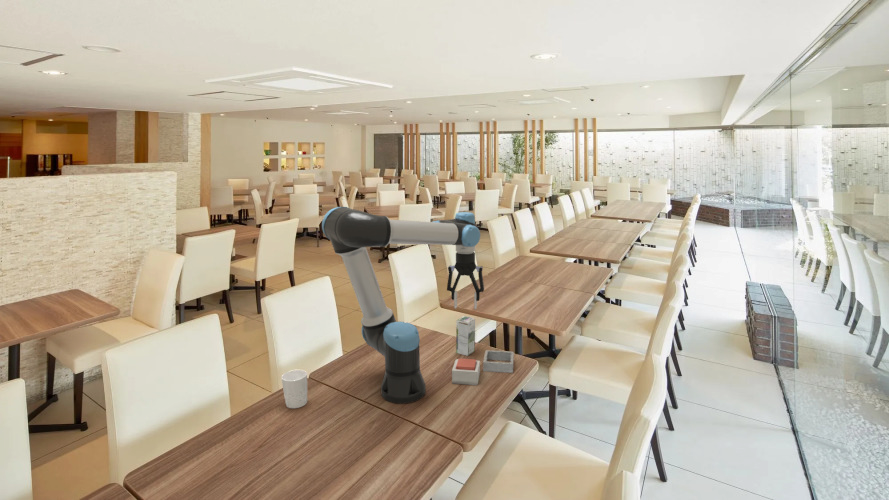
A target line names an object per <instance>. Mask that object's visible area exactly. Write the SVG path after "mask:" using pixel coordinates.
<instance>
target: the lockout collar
mask: <svg viewBox="0 0 889 500" xmlns="http://www.w3.org/2000/svg"><path fill="white" fill-rule="evenodd" d="M514 355H515V353H514V351H508V350H507V351H506V350H505V351H504V350H492V349H490V350H488V349H485V352H484V355H483V356H484V357H483V363H482V372H491V373H508V374H509V373H510V374H513V373H514V363H515V361H514V360H515V358H514ZM489 360H491V361H489ZM500 361H501V362H500ZM502 361H503V362H502ZM505 361H506V362H505ZM507 361H509V362H507Z"/></svg>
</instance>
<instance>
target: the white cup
mask: <svg viewBox="0 0 889 500" xmlns="http://www.w3.org/2000/svg"><path fill="white" fill-rule="evenodd" d="M280 379H281V384H282V390H283V395H284V396H283V397H284V401H285V406H286V407H287V408H288V409H298V408H301V407H304V406H305V405H306V404H307V403H308V372H307V371H306V370H304V369H293V370H288V371H287V372H284V373H282V375H281V378H280Z"/></svg>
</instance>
